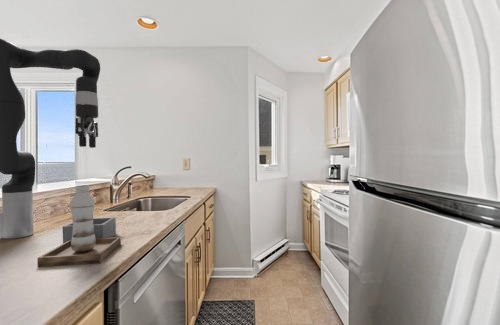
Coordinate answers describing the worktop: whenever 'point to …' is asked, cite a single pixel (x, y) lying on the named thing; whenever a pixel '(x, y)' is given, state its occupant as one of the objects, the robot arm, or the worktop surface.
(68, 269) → the worktop surface
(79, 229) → the plastic bottle
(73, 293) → the worktop surface
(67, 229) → the holder
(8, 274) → the worktop surface
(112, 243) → the tray
